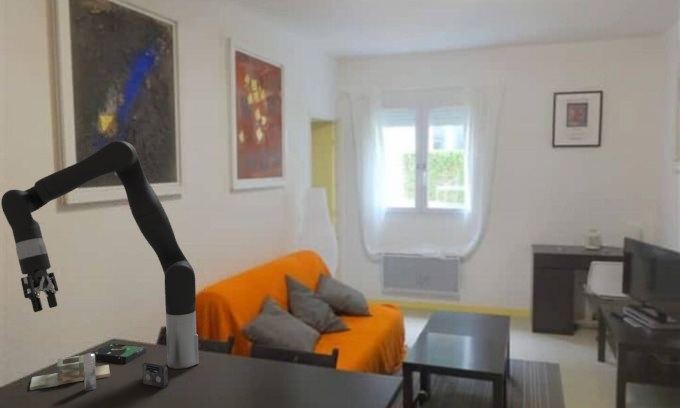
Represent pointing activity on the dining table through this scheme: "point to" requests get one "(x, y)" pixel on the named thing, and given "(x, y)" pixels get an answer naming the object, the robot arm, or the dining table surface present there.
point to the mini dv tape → (155, 375)
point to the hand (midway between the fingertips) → (46, 309)
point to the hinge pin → (89, 371)
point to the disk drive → (119, 353)
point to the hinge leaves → (67, 373)
